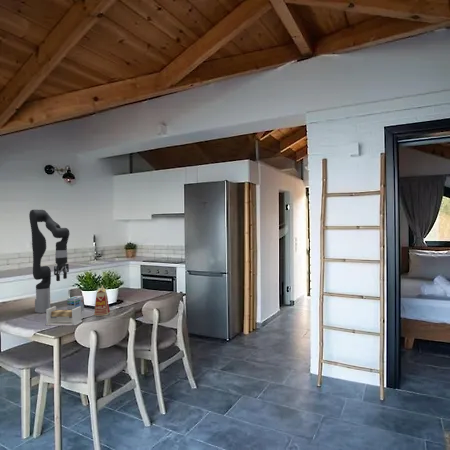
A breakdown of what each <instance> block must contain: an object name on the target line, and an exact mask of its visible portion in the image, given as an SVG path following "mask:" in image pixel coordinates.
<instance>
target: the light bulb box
mask: <svg viewBox="0 0 450 450" xmlns="http://www.w3.org/2000/svg"><path fill="white" fill-rule="evenodd" d="M66 301H67V302H66V305H67V306H66V307H67V308H66V310H72V309H75V308H77V307H79V306H81V312H83V311H84V305H85V304H84V301H85V299H84V295H74V296H71V297H68V298H66Z"/></svg>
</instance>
